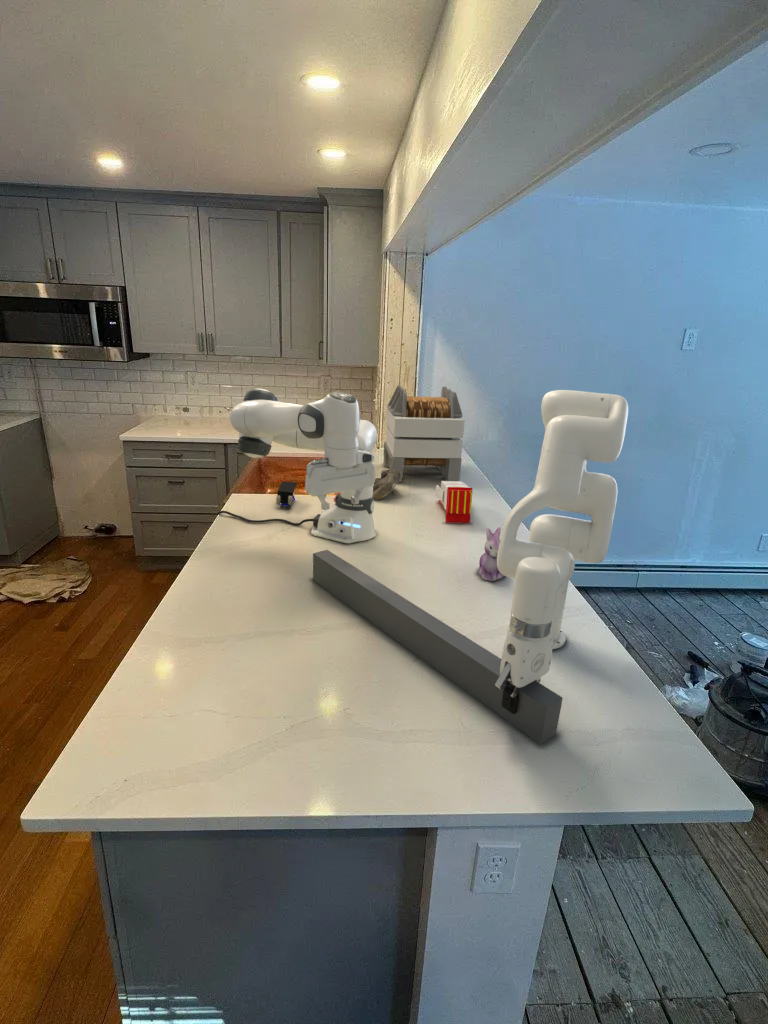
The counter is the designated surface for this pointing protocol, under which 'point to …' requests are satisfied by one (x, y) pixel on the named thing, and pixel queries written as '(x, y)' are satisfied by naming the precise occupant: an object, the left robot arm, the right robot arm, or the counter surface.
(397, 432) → the grey slatted crate stand
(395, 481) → the fossil
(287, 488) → the figurine character
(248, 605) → the counter surface
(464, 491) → the toy
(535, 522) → the right robot arm
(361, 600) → the bar
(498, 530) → the figurine
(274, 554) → the counter surface
